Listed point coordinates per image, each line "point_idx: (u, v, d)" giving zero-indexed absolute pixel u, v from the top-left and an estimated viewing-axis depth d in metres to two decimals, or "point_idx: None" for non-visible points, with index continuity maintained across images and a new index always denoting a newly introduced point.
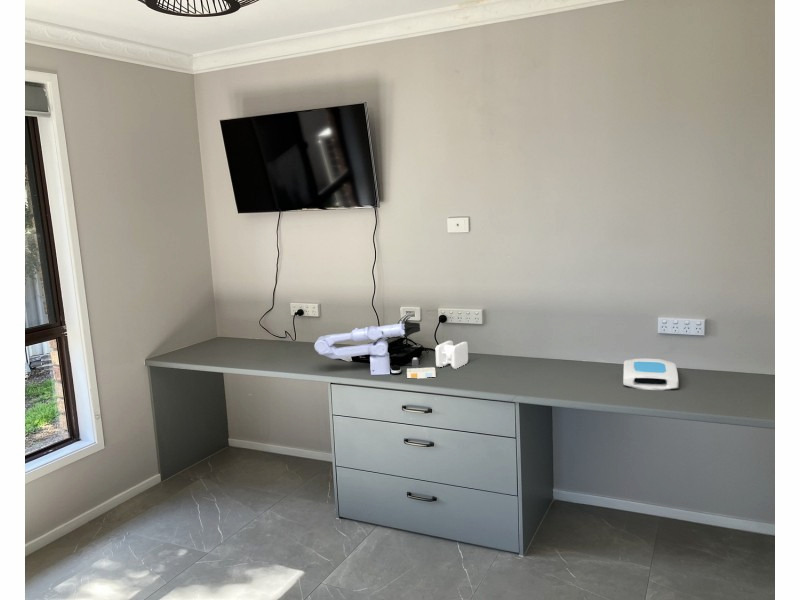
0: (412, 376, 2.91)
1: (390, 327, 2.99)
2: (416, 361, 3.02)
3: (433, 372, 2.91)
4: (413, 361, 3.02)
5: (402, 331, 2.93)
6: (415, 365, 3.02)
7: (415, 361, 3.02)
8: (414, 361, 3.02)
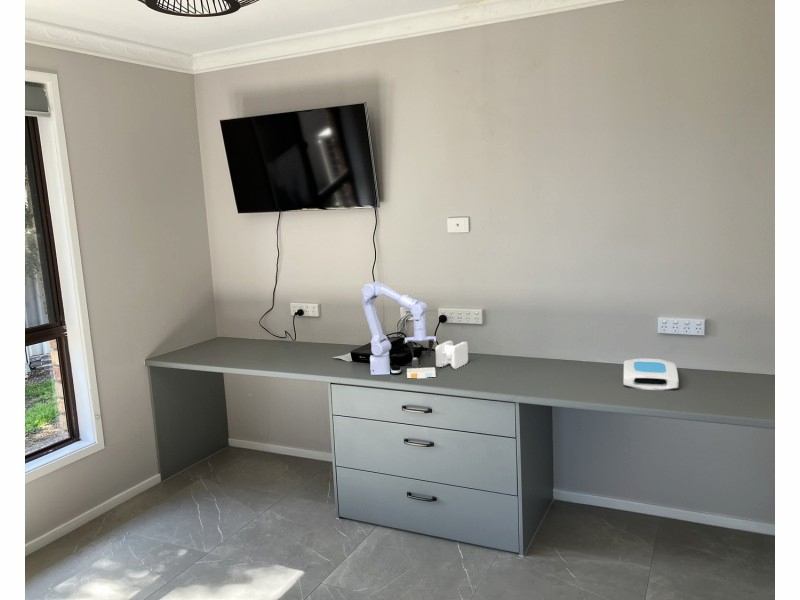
0: (412, 376, 2.91)
1: (422, 328, 2.89)
2: (416, 361, 3.02)
3: (433, 372, 2.91)
4: (413, 361, 3.02)
5: None
6: (415, 365, 3.02)
7: (415, 361, 3.02)
8: (414, 361, 3.02)
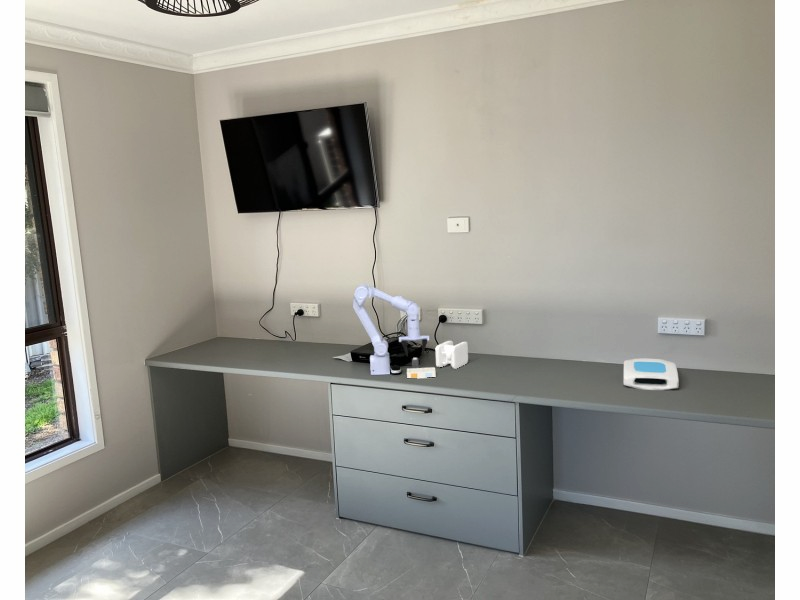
0: (412, 376, 2.91)
1: (417, 328, 2.98)
2: (416, 361, 3.02)
3: (433, 372, 2.91)
4: (413, 361, 3.02)
5: (399, 339, 3.01)
6: (415, 365, 3.02)
7: (415, 361, 3.02)
8: (414, 361, 3.02)
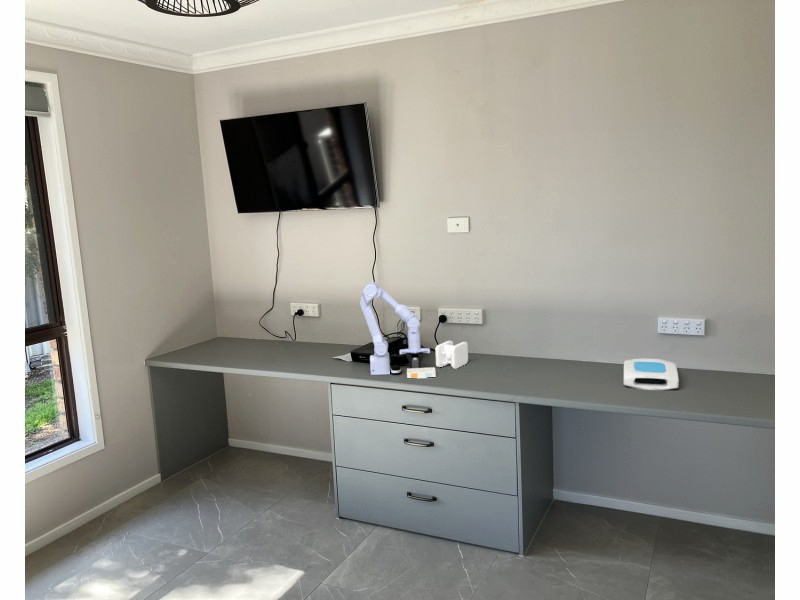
0: (412, 376, 2.91)
1: (418, 340, 2.99)
2: (416, 361, 3.02)
3: (433, 372, 2.91)
4: (413, 361, 3.02)
5: None
6: (415, 365, 3.02)
7: (415, 361, 3.02)
8: (414, 361, 3.02)
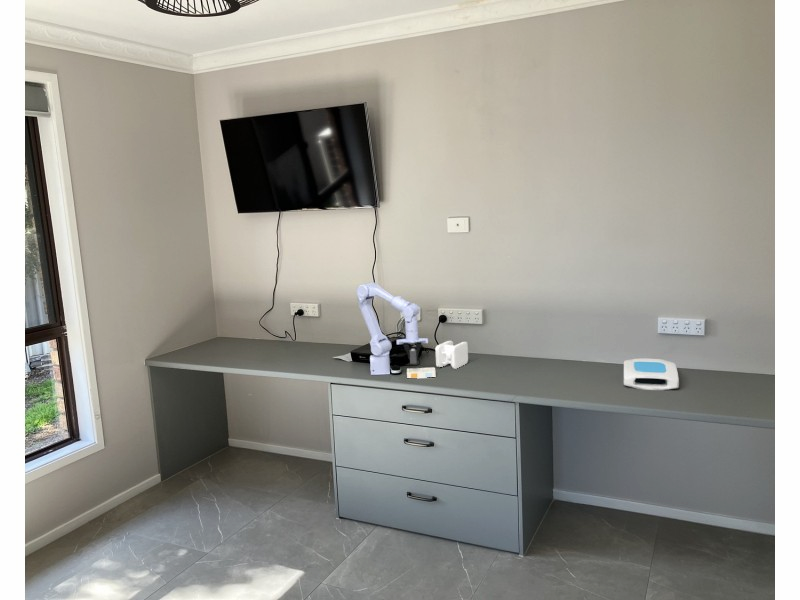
0: (412, 376, 2.91)
1: (413, 330, 2.89)
2: (414, 352, 2.92)
3: (433, 372, 2.91)
4: (411, 352, 2.92)
5: None
6: (413, 356, 2.92)
7: (413, 352, 2.92)
8: (412, 352, 2.92)
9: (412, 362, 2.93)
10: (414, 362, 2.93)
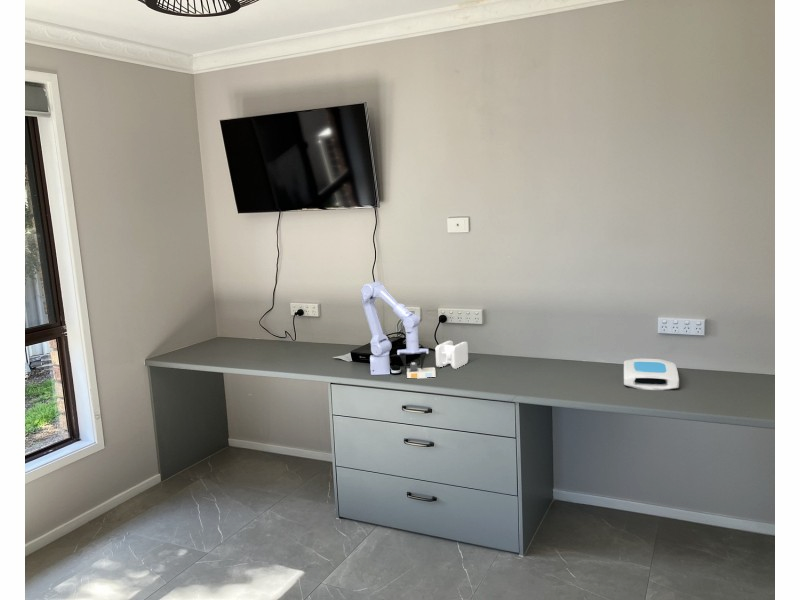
0: (412, 376, 2.91)
1: (413, 341, 2.90)
2: (415, 366, 2.93)
3: (433, 372, 2.91)
4: (411, 366, 2.93)
5: (397, 352, 2.93)
6: (413, 370, 2.93)
7: (413, 366, 2.93)
8: (412, 366, 2.93)
9: None
10: None
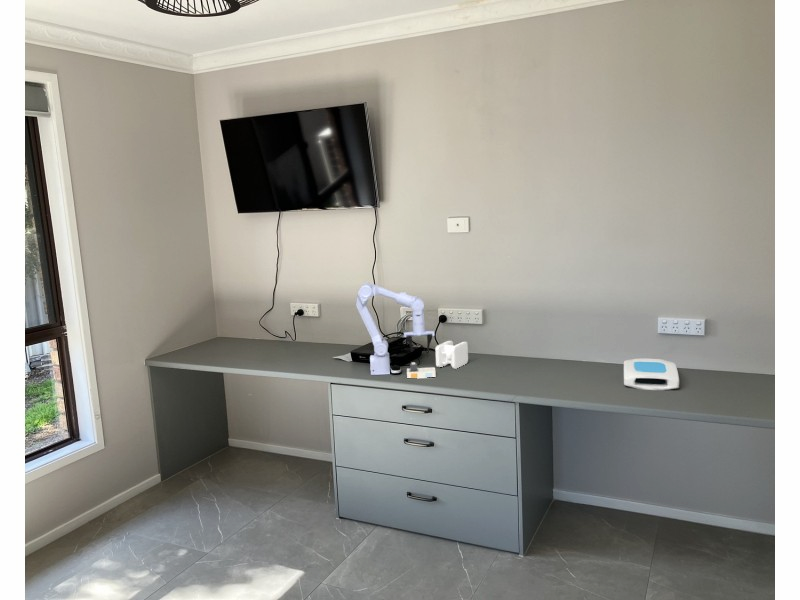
0: (412, 376, 2.91)
1: (422, 323, 2.98)
2: (414, 366, 2.93)
3: (433, 372, 2.91)
4: (411, 366, 2.93)
5: (404, 335, 3.01)
6: (413, 370, 2.93)
7: (413, 366, 2.93)
8: (412, 366, 2.93)
9: None
10: None
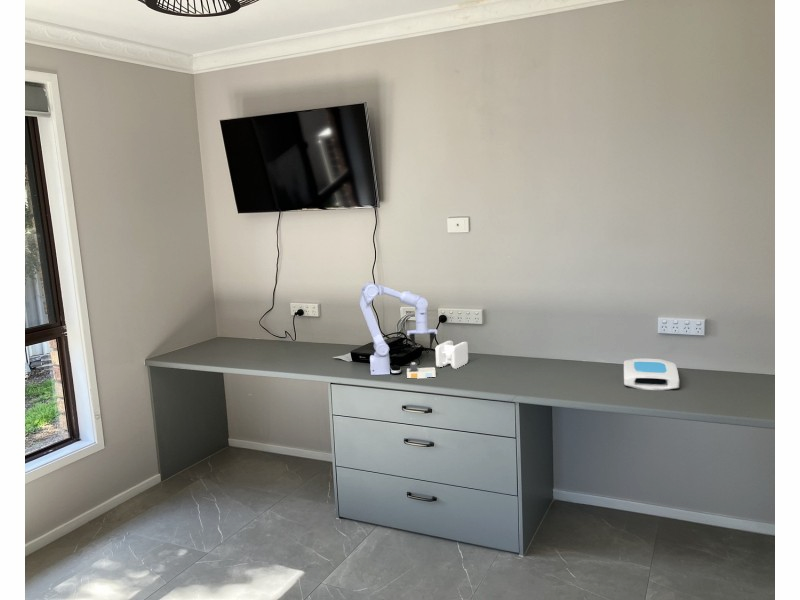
0: (412, 376, 2.91)
1: (426, 321, 3.02)
2: (415, 366, 2.93)
3: (433, 372, 2.91)
4: (411, 366, 2.93)
5: (407, 333, 3.05)
6: (413, 370, 2.93)
7: (413, 366, 2.93)
8: (412, 366, 2.93)
9: None
10: None
